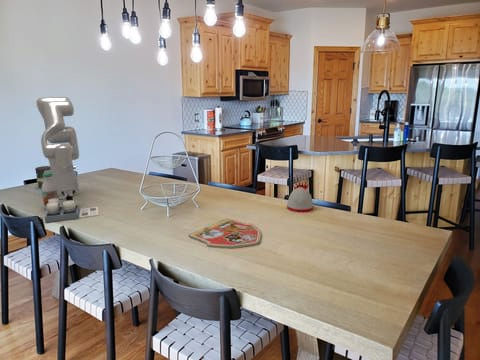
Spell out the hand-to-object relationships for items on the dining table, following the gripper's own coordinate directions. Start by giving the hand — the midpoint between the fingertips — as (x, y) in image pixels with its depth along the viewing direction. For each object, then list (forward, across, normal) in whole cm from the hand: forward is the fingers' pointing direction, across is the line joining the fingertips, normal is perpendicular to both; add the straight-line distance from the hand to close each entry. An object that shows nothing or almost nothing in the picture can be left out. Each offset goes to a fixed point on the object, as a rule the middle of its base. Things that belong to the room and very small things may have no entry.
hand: (70, 202), depth 188 cm
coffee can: (+6, +18, -64) cm, 67 cm away
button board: (+6, +4, +4) cm, 8 cm away
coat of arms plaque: (+7, -68, +63) cm, 93 cm away
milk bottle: (+6, +10, -13) cm, 17 cm away
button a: (+2, +7, 0) cm, 8 cm away
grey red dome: (+6, -115, +43) cm, 123 cm away
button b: (+5, 0, 0) cm, 5 cm away
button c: (+2, +7, +7) cm, 11 cm away
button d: (+2, 0, +7) cm, 8 cm away
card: (+6, -9, +4) cm, 11 cm away
